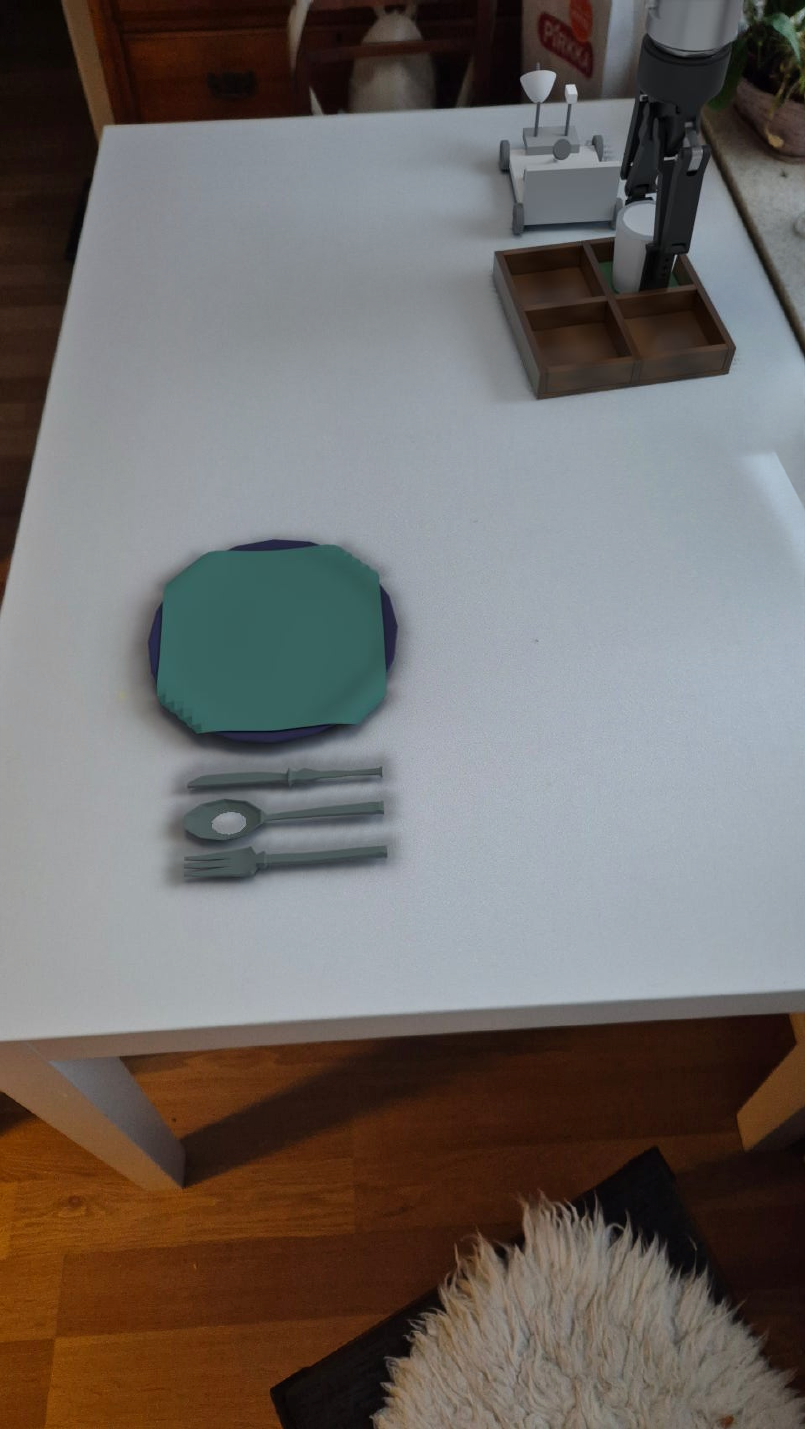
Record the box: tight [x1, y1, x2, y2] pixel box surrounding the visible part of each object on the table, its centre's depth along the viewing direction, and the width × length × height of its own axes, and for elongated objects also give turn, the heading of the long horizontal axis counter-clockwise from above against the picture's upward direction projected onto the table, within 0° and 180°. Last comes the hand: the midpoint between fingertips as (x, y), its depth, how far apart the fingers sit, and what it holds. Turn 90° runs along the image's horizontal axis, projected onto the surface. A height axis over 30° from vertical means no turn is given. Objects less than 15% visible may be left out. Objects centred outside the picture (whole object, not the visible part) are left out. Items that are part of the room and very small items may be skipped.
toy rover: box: [498, 62, 624, 235], centre depth 111 cm, size 18×10×12 cm
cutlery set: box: [147, 538, 399, 878], centre depth 78 cm, size 20×30×2 cm, turn 4°
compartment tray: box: [492, 235, 737, 401], centre depth 101 cm, size 19×19×3 cm
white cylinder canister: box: [612, 199, 677, 294], centre depth 101 cm, size 7×7×7 cm
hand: (639, 280), depth 104 cm, fingers closed on white cylinder canister, 7 cm apart
